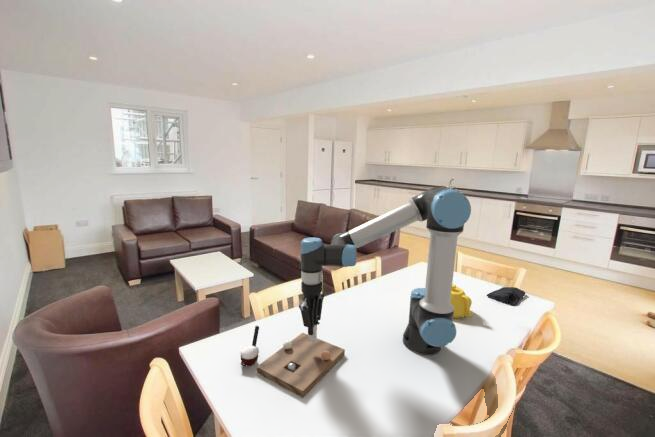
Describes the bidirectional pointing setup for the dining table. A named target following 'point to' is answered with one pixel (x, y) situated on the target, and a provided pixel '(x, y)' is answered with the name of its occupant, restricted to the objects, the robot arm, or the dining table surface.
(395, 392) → the dining table surface
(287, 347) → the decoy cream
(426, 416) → the dining table surface
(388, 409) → the dining table surface
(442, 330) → the robot arm
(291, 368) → the ball
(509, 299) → the dark slate chunk
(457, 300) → the teapot
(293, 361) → the board
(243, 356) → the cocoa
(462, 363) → the dining table surface
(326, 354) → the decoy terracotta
